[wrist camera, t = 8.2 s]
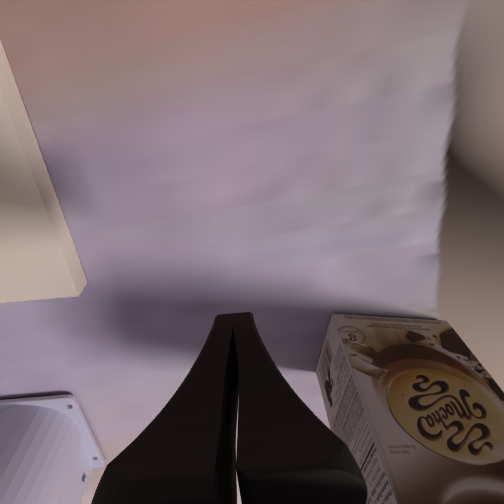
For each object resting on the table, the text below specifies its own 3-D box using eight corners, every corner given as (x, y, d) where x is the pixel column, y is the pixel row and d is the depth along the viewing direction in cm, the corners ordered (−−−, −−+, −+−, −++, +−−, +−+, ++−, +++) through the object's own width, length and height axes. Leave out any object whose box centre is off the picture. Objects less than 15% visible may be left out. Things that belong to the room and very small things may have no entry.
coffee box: (449, 317, 26) (702, 623, 12) (420, 378, 29) (593, 678, 15) (329, 309, 25) (449, 630, 11) (312, 373, 28) (390, 687, 14)
